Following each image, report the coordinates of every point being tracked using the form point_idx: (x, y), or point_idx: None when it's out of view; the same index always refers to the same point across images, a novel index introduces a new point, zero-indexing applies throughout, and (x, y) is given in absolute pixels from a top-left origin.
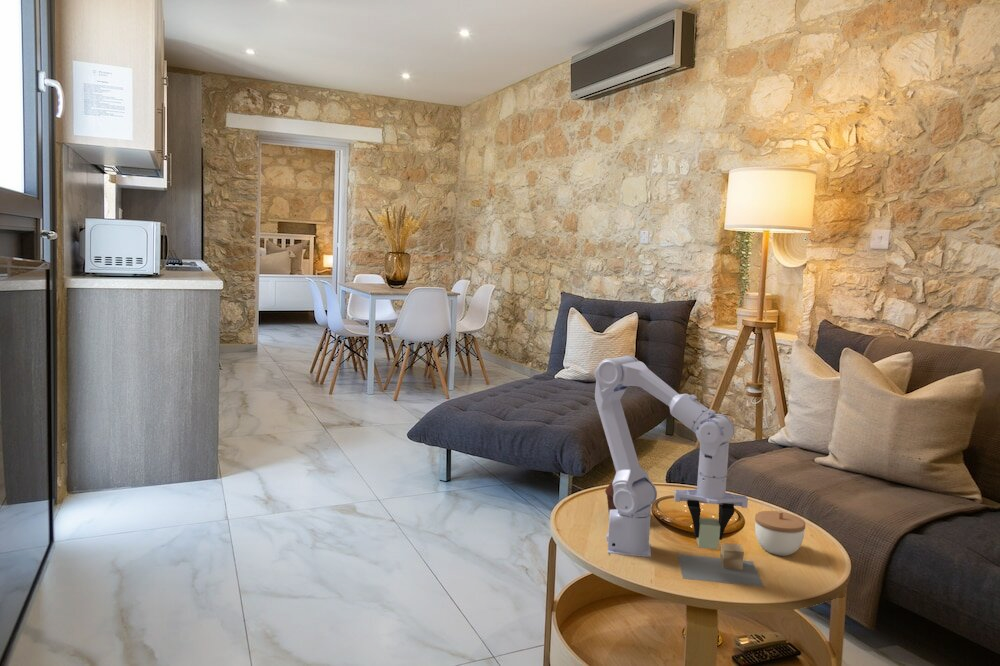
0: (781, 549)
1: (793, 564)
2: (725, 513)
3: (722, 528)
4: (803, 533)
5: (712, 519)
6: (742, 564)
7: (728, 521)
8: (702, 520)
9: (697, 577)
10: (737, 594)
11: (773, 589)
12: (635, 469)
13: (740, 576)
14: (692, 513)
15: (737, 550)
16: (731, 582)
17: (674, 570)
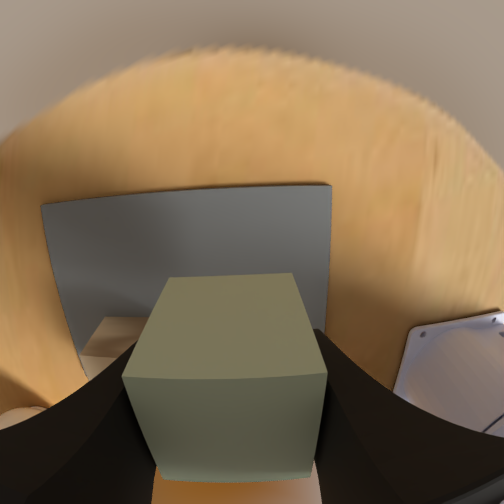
0: (25, 412)
1: (10, 374)
2: (17, 470)
3: (113, 375)
4: None
5: (199, 473)
6: (99, 327)
7: (42, 412)
8: (285, 448)
9: (272, 208)
10: (127, 122)
11: (22, 209)
12: None
13: (108, 264)
14: (458, 434)
15: (102, 365)
16: (139, 202)
17: (350, 263)
